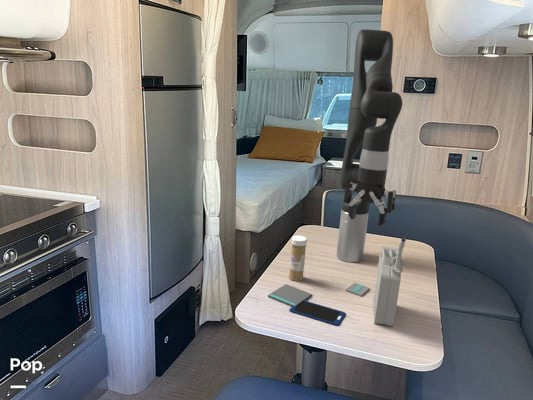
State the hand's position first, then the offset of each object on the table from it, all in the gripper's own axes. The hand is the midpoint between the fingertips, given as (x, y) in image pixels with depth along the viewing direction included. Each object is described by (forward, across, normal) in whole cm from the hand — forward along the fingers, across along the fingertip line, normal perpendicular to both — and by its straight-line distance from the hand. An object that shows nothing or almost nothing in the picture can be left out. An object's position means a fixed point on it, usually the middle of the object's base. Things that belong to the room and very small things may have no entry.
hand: (366, 222), depth 124 cm
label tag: (+22, 0, 0) cm, 22 cm away
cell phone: (+22, +3, +19) cm, 29 cm away
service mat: (+22, +13, +17) cm, 30 cm away
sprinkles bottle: (+22, +18, +6) cm, 29 cm away
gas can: (+22, -12, +9) cm, 26 cm away
